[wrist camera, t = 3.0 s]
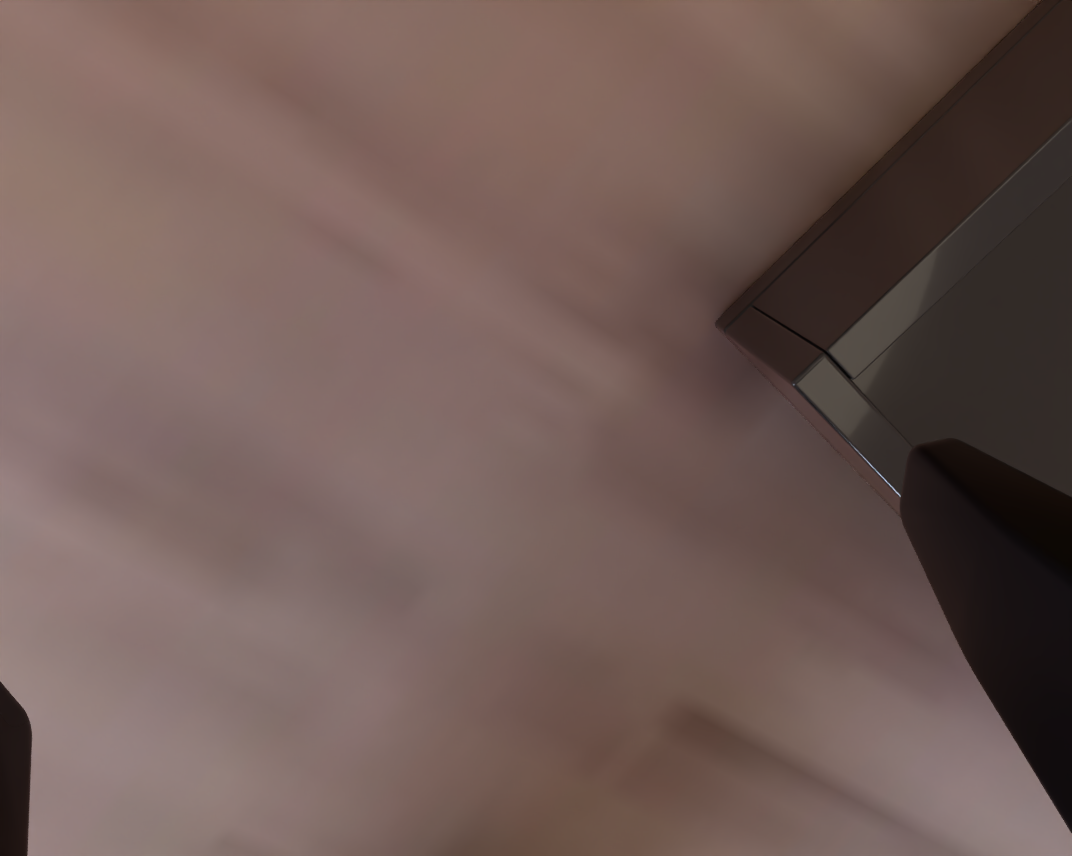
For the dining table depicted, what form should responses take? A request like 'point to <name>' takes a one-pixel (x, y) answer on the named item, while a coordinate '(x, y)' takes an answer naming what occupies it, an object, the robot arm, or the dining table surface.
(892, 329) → the tray
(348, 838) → the dining table surface
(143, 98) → the dining table surface
